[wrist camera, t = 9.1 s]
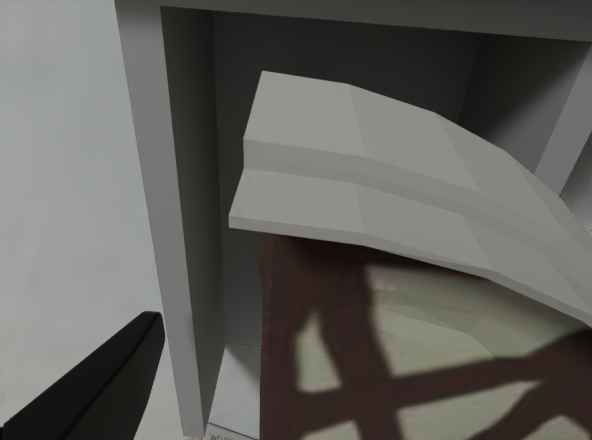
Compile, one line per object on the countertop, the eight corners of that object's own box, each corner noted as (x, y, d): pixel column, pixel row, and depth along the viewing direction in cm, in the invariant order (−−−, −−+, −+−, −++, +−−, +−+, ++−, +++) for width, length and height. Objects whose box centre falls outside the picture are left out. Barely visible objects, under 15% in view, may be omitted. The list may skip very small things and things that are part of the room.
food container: (402, 335, 17) (512, 677, 8) (273, 329, 17) (245, 669, 8) (490, 50, 11) (1357, 199, 2) (286, 35, 10) (224, 124, 2)
